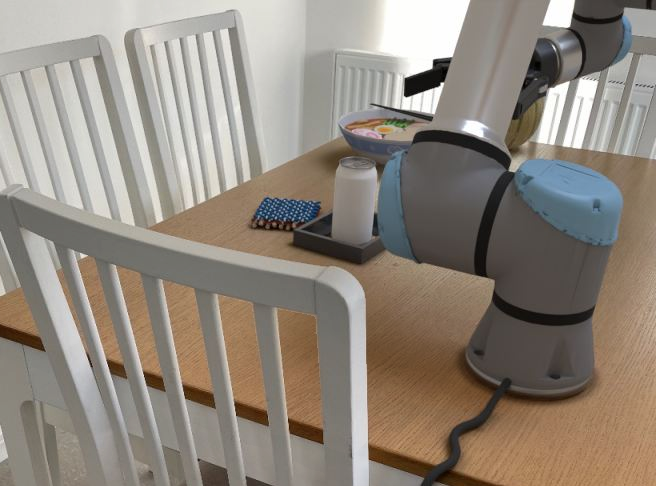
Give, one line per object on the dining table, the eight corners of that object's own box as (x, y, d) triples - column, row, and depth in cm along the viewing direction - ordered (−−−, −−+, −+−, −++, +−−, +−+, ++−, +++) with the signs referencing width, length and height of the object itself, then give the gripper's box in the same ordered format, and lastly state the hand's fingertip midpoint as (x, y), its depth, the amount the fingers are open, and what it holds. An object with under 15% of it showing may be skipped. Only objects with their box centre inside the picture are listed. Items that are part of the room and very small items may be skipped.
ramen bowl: (307, 158, 165) (309, 115, 160) (383, 138, 177) (387, 96, 172) (402, 191, 151) (407, 144, 146) (477, 166, 163) (485, 122, 158)
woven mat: (261, 206, 144) (261, 194, 143) (321, 211, 143) (322, 199, 141) (249, 228, 136) (249, 215, 135) (312, 233, 135) (313, 221, 133)
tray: (361, 264, 125) (362, 248, 124) (292, 244, 131) (293, 229, 129) (407, 234, 135) (409, 220, 133) (342, 217, 140) (343, 203, 139)
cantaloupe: (486, 134, 181) (499, 57, 172) (547, 148, 174) (565, 69, 164) (450, 148, 173) (462, 68, 163) (513, 163, 165) (529, 81, 156)
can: (322, 238, 133) (327, 161, 125) (350, 229, 136) (356, 153, 129) (352, 250, 129) (358, 171, 122) (379, 240, 133) (387, 163, 125)
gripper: (595, 116, 124) (482, 159, 118) (488, 64, 139) (383, 100, 133) (607, 63, 118) (488, 105, 113) (494, 15, 133) (384, 50, 127)
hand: (431, 102), depth 123 cm, fingers open, 13 cm apart
